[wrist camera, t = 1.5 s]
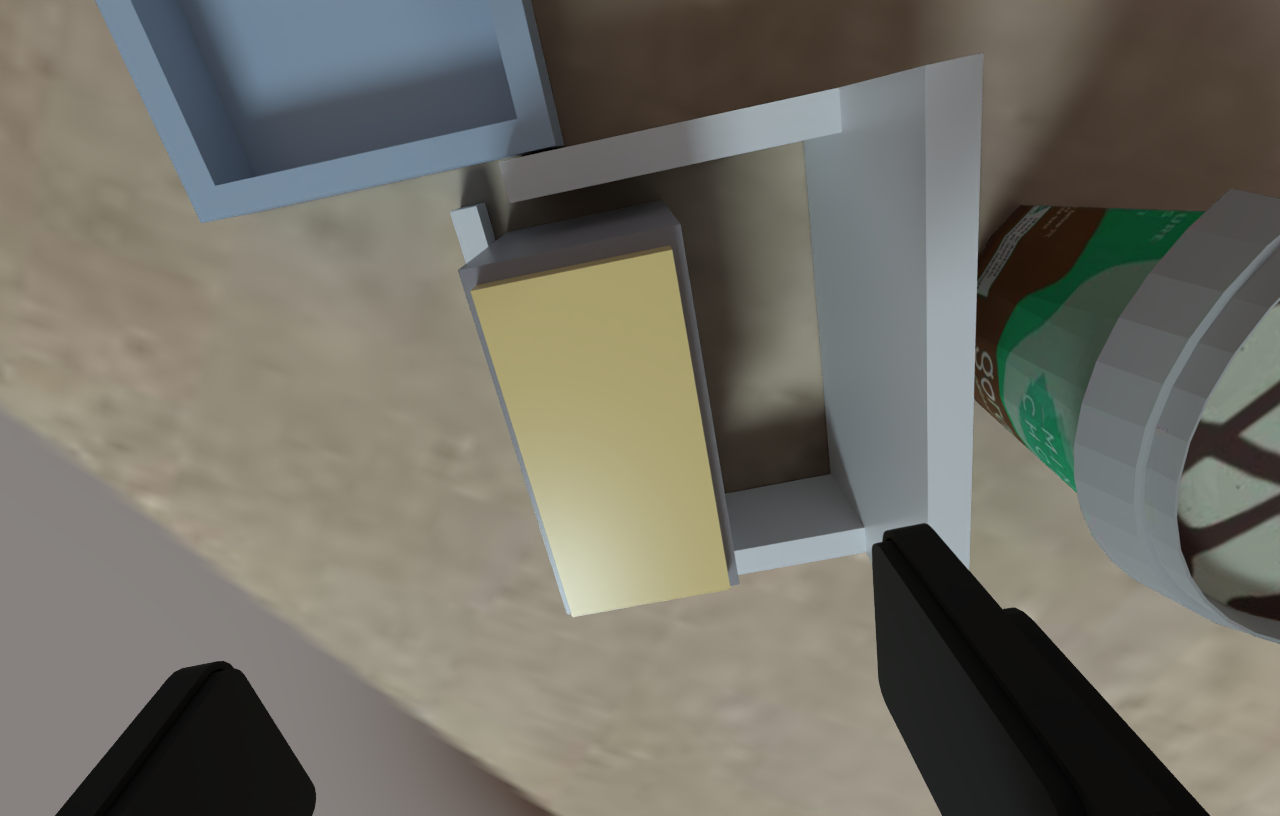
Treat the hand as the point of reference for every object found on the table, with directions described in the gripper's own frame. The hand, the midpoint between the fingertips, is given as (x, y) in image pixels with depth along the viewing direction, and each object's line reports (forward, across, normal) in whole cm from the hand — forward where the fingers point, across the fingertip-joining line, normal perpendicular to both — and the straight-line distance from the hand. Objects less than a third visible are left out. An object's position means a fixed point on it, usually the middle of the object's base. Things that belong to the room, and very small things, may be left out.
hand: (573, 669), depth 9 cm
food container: (+13, -15, +3) cm, 20 cm away
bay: (+13, -3, 0) cm, 13 cm away
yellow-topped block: (+13, -1, 0) cm, 13 cm away
